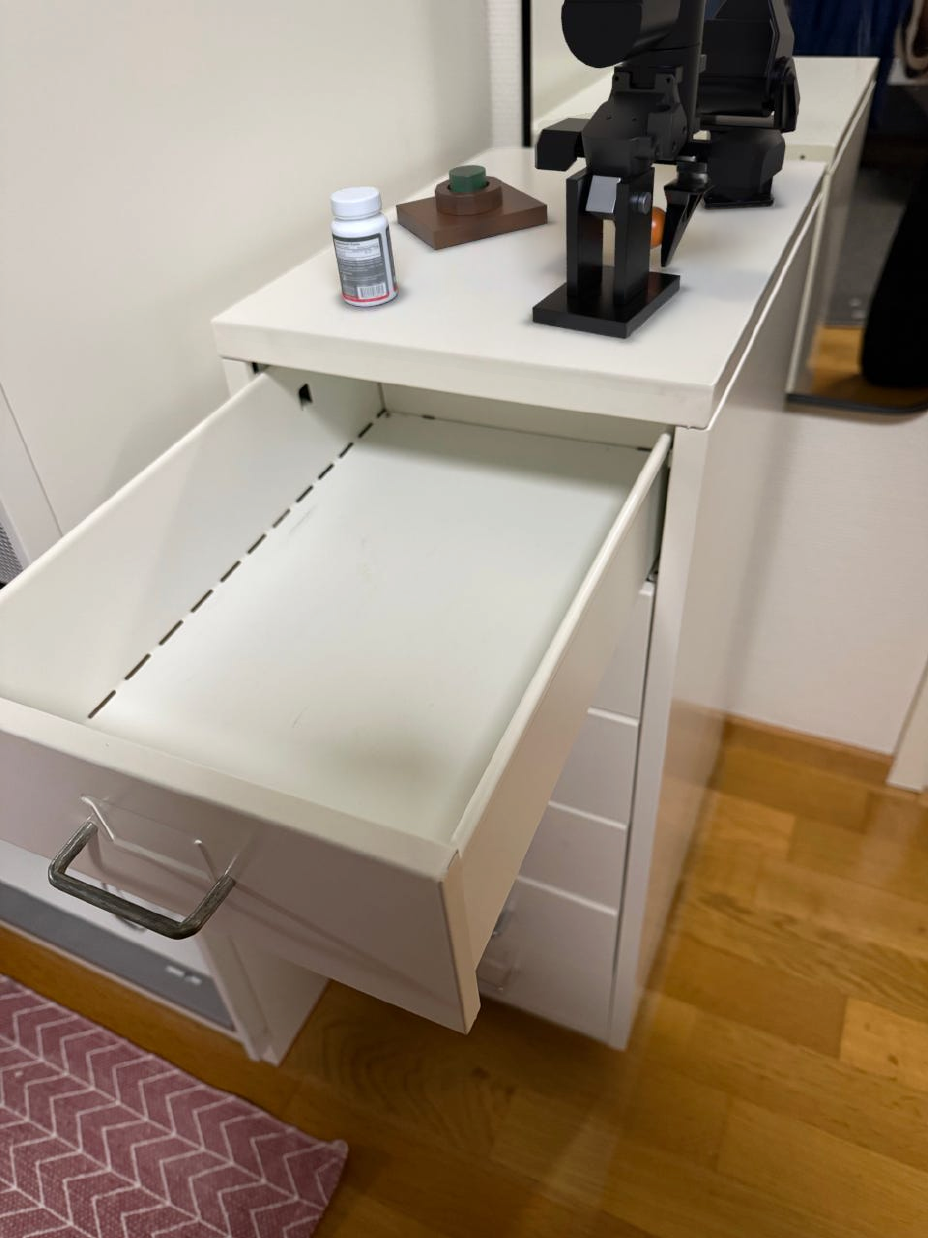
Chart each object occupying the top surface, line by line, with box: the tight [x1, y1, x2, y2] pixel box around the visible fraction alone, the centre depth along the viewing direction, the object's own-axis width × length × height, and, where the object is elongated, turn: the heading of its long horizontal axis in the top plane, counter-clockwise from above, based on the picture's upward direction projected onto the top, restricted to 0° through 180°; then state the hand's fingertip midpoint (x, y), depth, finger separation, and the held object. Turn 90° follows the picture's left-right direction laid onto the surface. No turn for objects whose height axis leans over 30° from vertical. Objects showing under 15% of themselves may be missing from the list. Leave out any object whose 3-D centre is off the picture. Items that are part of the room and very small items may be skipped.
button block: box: [395, 175, 548, 250], centre depth 87 cm, size 12×10×4 cm
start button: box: [448, 164, 487, 192], centre depth 85 cm, size 4×4×2 cm
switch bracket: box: [531, 166, 681, 339], centre depth 67 cm, size 10×8×10 cm
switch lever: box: [586, 175, 666, 250], centre depth 68 cm, size 12×3×3 cm, turn 147°
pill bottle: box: [329, 186, 399, 308], centre depth 73 cm, size 5×5×8 cm
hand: (647, 263), depth 74 cm, fingers closed on switch lever, 3 cm apart
